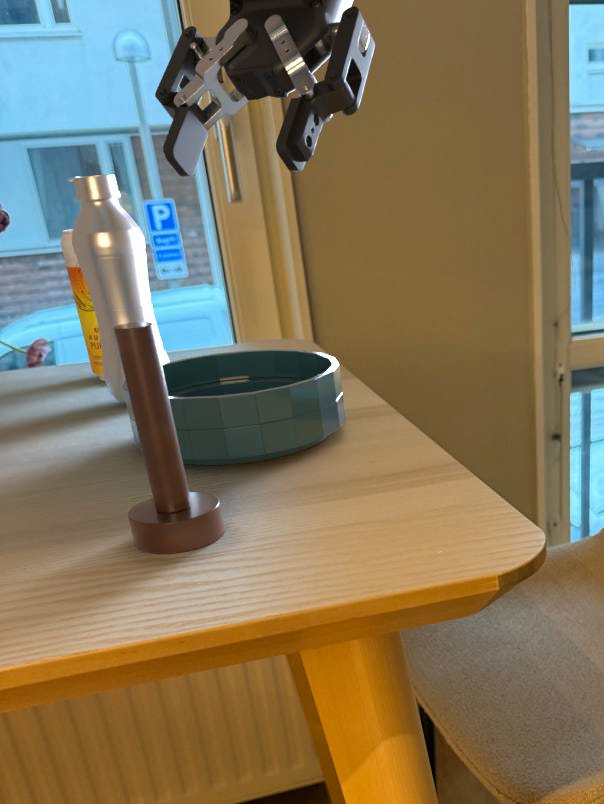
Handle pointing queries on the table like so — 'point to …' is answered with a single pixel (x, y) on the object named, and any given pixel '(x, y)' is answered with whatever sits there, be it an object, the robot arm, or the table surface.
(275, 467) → the table surface
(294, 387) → the bowl
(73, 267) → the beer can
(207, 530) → the brown rod on disc
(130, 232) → the silver bottle
